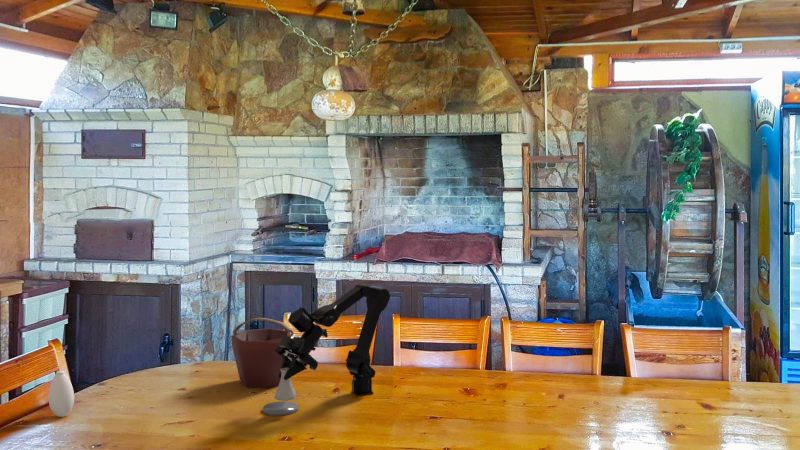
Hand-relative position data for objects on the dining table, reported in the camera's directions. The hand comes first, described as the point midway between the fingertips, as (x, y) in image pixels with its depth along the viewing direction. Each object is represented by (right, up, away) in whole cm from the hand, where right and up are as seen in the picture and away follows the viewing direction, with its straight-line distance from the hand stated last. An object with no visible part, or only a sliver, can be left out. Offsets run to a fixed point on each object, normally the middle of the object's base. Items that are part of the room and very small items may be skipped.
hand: (281, 378), depth 252 cm
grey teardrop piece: (-74, -13, +1) cm, 75 cm away
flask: (+1, -7, +1) cm, 7 cm away
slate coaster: (-1, -12, +5) cm, 13 cm away
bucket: (-13, -9, +37) cm, 40 cm away
